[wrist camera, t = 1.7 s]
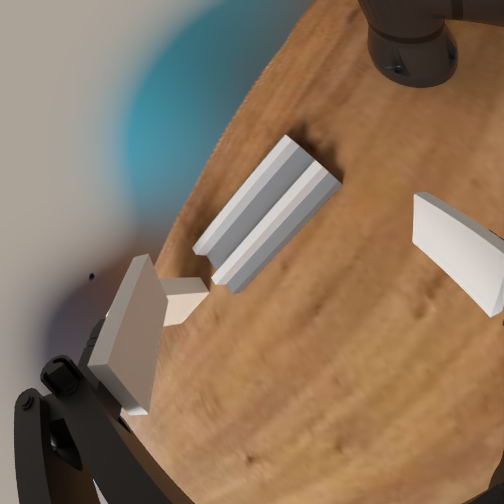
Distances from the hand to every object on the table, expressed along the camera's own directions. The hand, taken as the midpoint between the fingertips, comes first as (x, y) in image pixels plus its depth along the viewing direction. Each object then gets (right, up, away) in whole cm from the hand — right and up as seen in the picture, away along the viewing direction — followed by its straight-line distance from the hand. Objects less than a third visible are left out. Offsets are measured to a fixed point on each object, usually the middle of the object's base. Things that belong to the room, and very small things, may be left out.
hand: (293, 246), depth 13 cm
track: (0, +5, +34) cm, 34 cm away
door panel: (-14, -10, +42) cm, 45 cm away
